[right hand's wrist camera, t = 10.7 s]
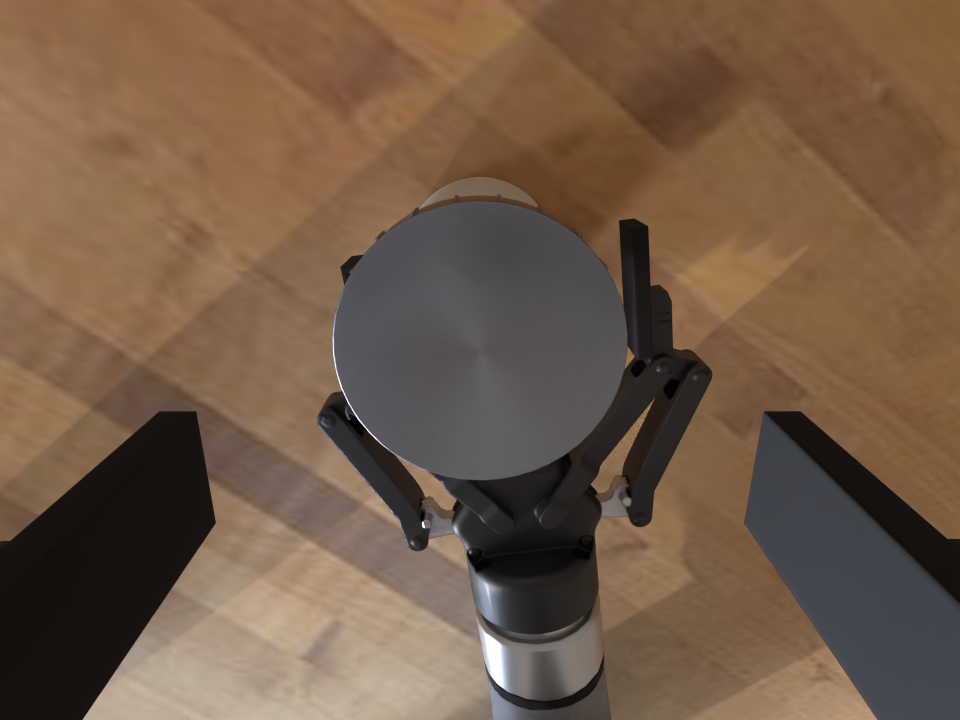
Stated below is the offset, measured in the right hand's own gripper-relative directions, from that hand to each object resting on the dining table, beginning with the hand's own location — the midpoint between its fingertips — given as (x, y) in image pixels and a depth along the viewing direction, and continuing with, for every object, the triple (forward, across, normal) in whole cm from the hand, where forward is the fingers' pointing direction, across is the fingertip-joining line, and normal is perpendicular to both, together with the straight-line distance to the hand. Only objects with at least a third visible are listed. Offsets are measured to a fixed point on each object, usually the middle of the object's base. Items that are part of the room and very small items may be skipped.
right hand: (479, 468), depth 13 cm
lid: (+8, 0, 0) cm, 8 cm away
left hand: (+18, -1, -2) cm, 19 cm away
